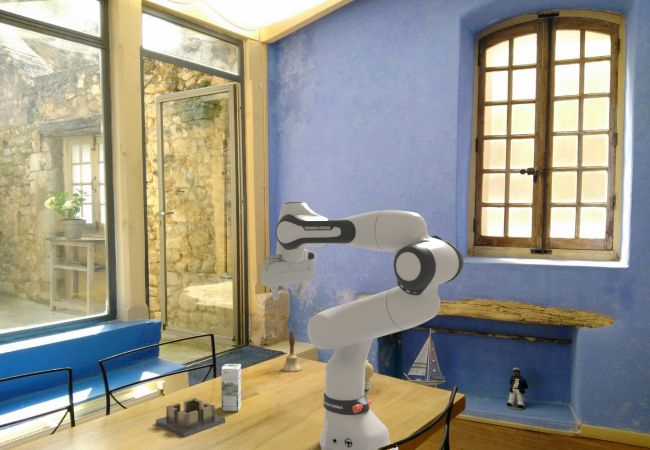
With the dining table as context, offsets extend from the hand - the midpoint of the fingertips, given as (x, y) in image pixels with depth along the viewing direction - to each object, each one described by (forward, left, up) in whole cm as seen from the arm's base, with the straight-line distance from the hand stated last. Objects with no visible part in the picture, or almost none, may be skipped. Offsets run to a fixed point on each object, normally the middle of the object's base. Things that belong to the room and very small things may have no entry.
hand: (287, 298), depth 164 cm
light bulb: (+1, -42, -39) cm, 57 cm away
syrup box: (+22, +4, -39) cm, 45 cm away
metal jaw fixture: (+22, +20, -39) cm, 49 cm away
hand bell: (+39, -42, -39) cm, 69 cm away
